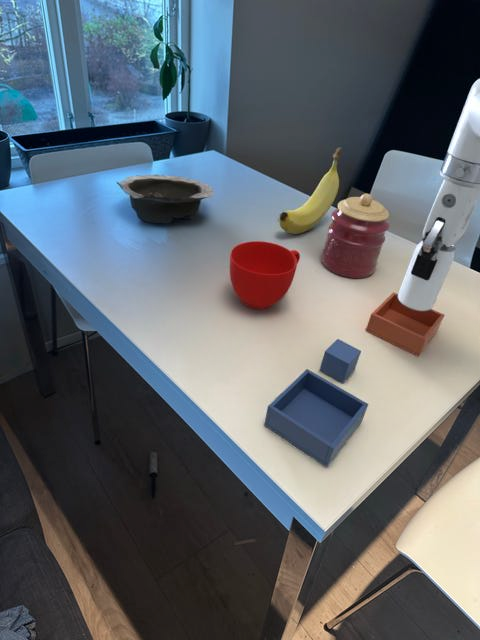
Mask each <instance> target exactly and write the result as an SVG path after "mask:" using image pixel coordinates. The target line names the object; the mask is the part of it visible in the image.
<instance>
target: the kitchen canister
mask: <svg viewBox="0 0 480 640" xmlns="http://www.w3.org/2000/svg"><path fill="white" fill-rule="evenodd" d="M330 215H331V219H332V221H331V223H329V225H328V227H327V229H328V231H327V235H326V240H325V243H324V247H323V249H322V253H321V262H322V264H323V266H324V267H325V268H326V269H327V270H328V271H330V272H332V273H334V274H336V275H338V276H340V277H341V276H342V277H345V278H350V279H363V278H367V277H370V276H371V275H372V274H373V273H374V271H375V270H376V269H377V265H378V264H379V263H378V262H379V261H378V260H379V258H380V254H381V252H382V248H383V245H384V243H385V241H386V235H385V234H386V232H387V231H388V230H389V229H390V227H391V225H390V221H389V220H388V218H389V217H390V213H389V210H387V209H386V208H385V207H384V205H383V204H381V202H379V201H377V200H374V199H373V196H372V195H371V194H370V193H363V194H361V196H351V197H347V198H345V199H342V200H340V201H339V202H338V203H337V208H336V209H334V210H333V211H332V213H331V214H330Z"/></svg>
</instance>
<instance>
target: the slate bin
mask: <svg viewBox="0 0 480 640" xmlns="http://www.w3.org/2000/svg"><path fill="white" fill-rule="evenodd" d="M369 406H370V405H369V403H367V402H366V401H364V400H363V399H360V398H358V397H357V396H355V395H353V394H352V393H350V392H348V391H346V390H345V389H343V388H341V387H339V386H337V385H336V384H335V383H332V382H331V381H329V380H328V379H325V378H324V377H322V376H320V375H319V374H317V373H315V372H314V371H311V370H310V369H309V368H306V369H305V370H304V371H303V372H302V373H301V374H299V376H298V377H296V379H294V380H293V381H292V382H291V384H289V385H288V386H287V387H286V388H285V389H284V390H283V391H281V393H280V394H279V395H278V396H277V397H276V398H275V399H274V400H273V401H271V402H270V404H268V405H267V409H266V413H265V419H264V424H263V426H265V427H266V428H268V429H269V430H271V431H273V432H274V433H275V434H277V435H278V436H279V437H281V438H283V439H284V440H286V441H287V442H289V443H290V444H292V445H293V446H294V447H296V448H297V449H299V450H301V451H302V452H303V453H305V454H307V455H308V456H309V457H311V458H312V459H313V460H315V461H317V462H318V463H320V464H322V466H325V468H329V466H330V465H331V464H332V462H333V460H334V459H335V458H336V457H337V455H338V454H339V453H340V451H341V450H342V449H343V447H344V446H345V445H346V443H347V442H348V441H349V440H350V438H351V437H352V436H353V434H354V433H355V432H356V431H357V429H358V428H359V426H360V425H361V424H362V422H363V419H364V417H365V414H366V412H367V410H368V407H369Z"/></svg>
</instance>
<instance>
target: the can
mask: <svg viewBox="0 0 480 640" xmlns="http://www.w3.org/2000/svg"><path fill="white" fill-rule="evenodd" d="M425 239H426V238H425ZM425 239H424V238H423V237H422V238H421V241H420V242H419V243H418V244H417V245H416V246H415V248H414V251H413V253H412V256H411V259H410V262H409V264H408V267H407V269H406V273H405V275H404V278H403V280H402V283H401V285H400V288H399V290H398V293H397V294H398V299H399V301H400V303H401V304H403V305H404V306H405V307H407V308H410V309H412V310H416V311H427V310H430V309H432V308H433V307H434V306H435V303H436V301H437V299H438V296H439V294H440V292H441V290H442V287H443V285H444V283H445V281H446V278H447V277H448V274H449V271H450V270H451V267H452V265H453V262H454V259H455V250H456V246H455V244H453V245H452V246H450V247H446V245H444V244H443V246H442V248H441V250H440V252H439V254H438V256H437V258H436V259H437V263H436V265H435V268H434V270H433V272H432V275H431V277H430V279H429V280H424V279H422V278H419V277H417V276H414V275H412V274H411V271H412V268H413V266H414V263H415V261H416V258H417V255H418V253H419V251H420V249H421V247H422V245H423V243H424V241H425ZM436 240H438V241H440V242H441V240H442V239H440V238H437V239H436ZM437 246H438V245H437V244H434V246H433V247H434V248H435V250H436V248H437Z"/></svg>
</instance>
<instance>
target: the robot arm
mask: <svg viewBox="0 0 480 640" xmlns="http://www.w3.org/2000/svg"><path fill="white" fill-rule="evenodd" d="M439 175H440V176H441V177H442V178H443V181H442V183H441V184H440V188H439V189H438V191H437V194H436V197H435V199H434V202H433V204H432V206H431V209H430V211H429V214H428V216H427V219H426V221H425V225H424V227H423V231H422V238H424V239H425V238H426V239H425V241H424V243H423V245H422V247H421V249H420V251H419V253H418V255H417V258H416V261H415V263H414V266H413V268H412V271H411V274H412V275H414V276H417V277H419V278H422V279H424V280H429V279H430V277H431V275H432V272H433V270H434V268H435V265H436V263H437V259H436V258H437V256H438V254H439V252H440V250H441V248H442V246H443V244H444V245H446V247H450V246H452V245H455V244H456V242H458V241H459V240H460V239H461V237H462V236H463V235H464V234H465V232H466V231H467V229H468V226H469V223H470V221H471V218H472V216H473V213H474V211H475V208H476V206H477V203H478V201H479V198H480V78H477V80H475V82H473V84H472V86H471V88H470V90H469V93H468V95H467V98H466V100H465V103H464V105H463V108H462V111H461V113H460V116H459V119H458V121H457V124H456V127H455V130H454V132H453V135H452V137H451V141H450V143H449V146H448V149H447V151H446V154H445V157H444V159H443V161H442V164H441V167H440V171H439ZM437 238H440V239H442V240H441V242H440V241H438V240H436V239H437ZM434 244H437V245H438V246H437V248H436V250H435V248H434V247H433V246H434Z"/></svg>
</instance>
